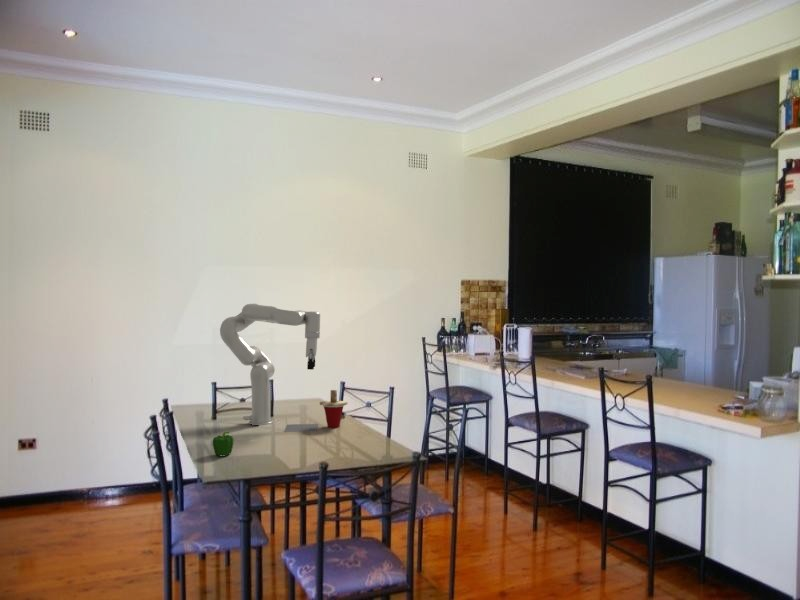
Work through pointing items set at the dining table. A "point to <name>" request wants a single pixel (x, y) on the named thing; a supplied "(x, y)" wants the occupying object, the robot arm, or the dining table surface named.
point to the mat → (301, 427)
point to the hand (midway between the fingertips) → (311, 368)
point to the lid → (333, 400)
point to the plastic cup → (333, 415)
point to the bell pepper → (223, 444)
